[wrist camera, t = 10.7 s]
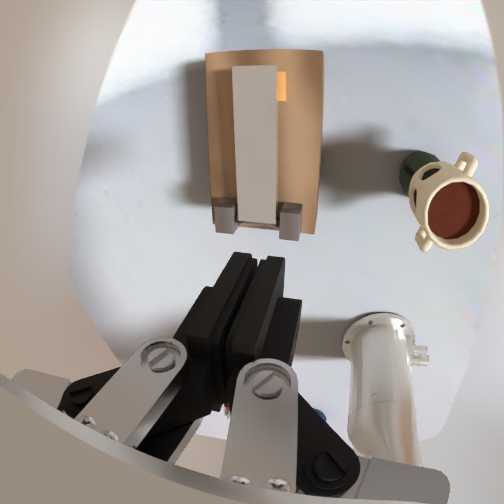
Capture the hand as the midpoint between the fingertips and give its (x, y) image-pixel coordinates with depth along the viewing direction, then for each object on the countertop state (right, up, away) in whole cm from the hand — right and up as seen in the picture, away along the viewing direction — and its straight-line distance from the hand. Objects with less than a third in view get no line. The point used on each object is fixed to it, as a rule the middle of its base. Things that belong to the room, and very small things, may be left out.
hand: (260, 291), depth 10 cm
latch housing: (+2, +16, +25) cm, 30 cm away
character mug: (+21, +11, +23) cm, 33 cm away
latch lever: (0, +12, +19) cm, 22 cm away
